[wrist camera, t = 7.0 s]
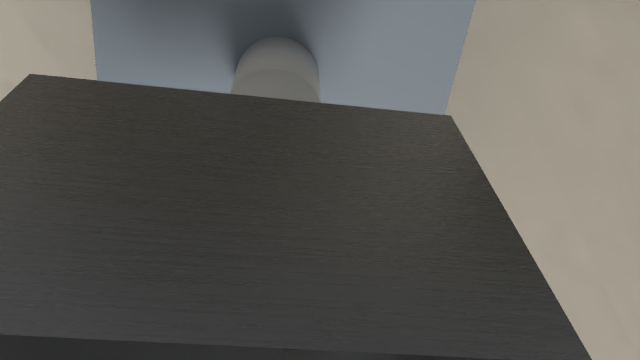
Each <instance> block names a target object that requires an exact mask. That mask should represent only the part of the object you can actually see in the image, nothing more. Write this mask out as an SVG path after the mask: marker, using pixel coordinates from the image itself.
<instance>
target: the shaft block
mask: <svg viewBox="0 0 640 360" xmlns="http://www.w3.org/2000/svg"><path fill="white" fill-rule="evenodd" d="M474 4H475V0H91V11H92V23H93V34H94V46H95V57H96V69H97V80H98V81H107V82H117V83H127V84H137V85H147V86H157V87H167V88H177V89H188V90H198V91H208V92H218V93H228V94H238V95H248V96H258V97H268V98H278V99H288V100H298V101H308V102H318V103H328V104H338V105H348V106H359V107H369V108H379V109H389V110H399V111H409V112H419V113H429V114H439V115H444V114H445V110H446V107H447V103H448V99H449V96H450V92H451V88H452V85H453V81H454V77H455V74H456V70H457V66H458V63H459V59H460V55H461V52H462V48H463V44H464V41H465V37H466V33H467V30H468V26H469V22H470V19H471V15H472V11H473V8H474Z"/></svg>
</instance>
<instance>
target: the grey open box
mask: <svg viewBox="0 0 640 360" xmlns="http://www.w3.org/2000/svg"><path fill="white" fill-rule="evenodd" d="M0 360H592V359H591V358H590V356H589V354H588V352H587V351H586V349H585V347H584V345H583V344H582V342H581V340H580V338H579V337H578V335H577V333H576V332H575V330H574V328H573V326H572V325H571V323H570V321H569V319H568V318H567V316H566V314H565V312H564V311H563V309H562V307H561V306H560V304H559V302H558V300H557V299H556V297H555V295H554V293H553V292H552V290H551V288H550V287H549V285H548V283H547V281H546V280H545V278H544V276H543V274H542V273H541V271H540V269H539V267H538V266H537V264H536V262H535V261H534V259H533V257H532V255H531V254H530V252H529V250H528V248H527V247H526V245H525V243H524V242H523V240H522V238H521V236H520V235H519V233H518V231H517V229H516V228H515V226H514V224H513V222H512V221H511V219H510V217H509V216H508V214H507V212H506V210H505V209H504V207H503V205H502V203H501V202H500V200H499V198H498V196H497V195H496V193H495V191H494V190H493V188H492V186H491V184H490V183H489V181H488V179H487V177H486V176H485V174H484V172H483V171H482V169H481V167H480V165H479V164H478V162H477V160H476V158H475V157H474V155H473V153H472V151H471V150H470V148H469V146H468V145H467V143H466V141H465V139H464V138H463V136H462V134H461V132H460V131H459V129H458V127H457V126H456V124H455V122H454V120H453V119H452V117H451V116H449V115H439V114H429V113H419V112H409V111H399V110H389V109H379V108H369V107H359V106H348V105H338V104H328V103H318V102H308V101H298V100H288V99H278V98H268V97H258V96H248V95H238V94H228V93H218V92H208V91H198V90H188V89H177V88H167V87H157V86H147V85H137V84H127V83H117V82H107V81H97V80H87V79H77V78H67V77H57V76H47V75H37V74H29V75H28V76H27V77H26V78H25V79H24V80H23V81H22V82H21V83H20V84H19V85H17V86H16V87H15V88H14V89H13V90H12V91H11V92H10V93H9V94H8V95H7V96H6V97H5V98H4V99H3V100H1V101H0Z"/></svg>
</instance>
